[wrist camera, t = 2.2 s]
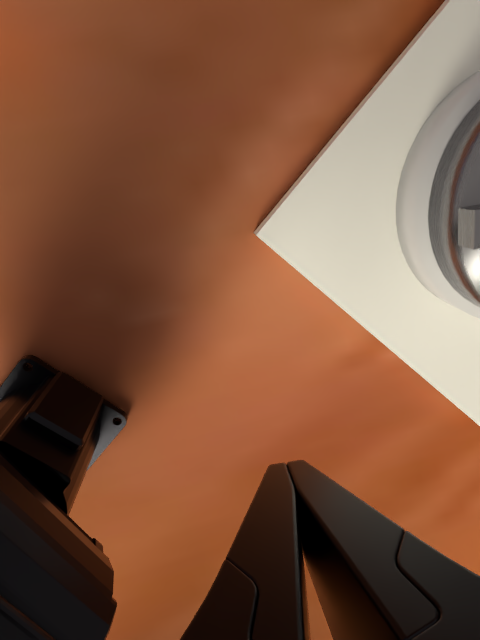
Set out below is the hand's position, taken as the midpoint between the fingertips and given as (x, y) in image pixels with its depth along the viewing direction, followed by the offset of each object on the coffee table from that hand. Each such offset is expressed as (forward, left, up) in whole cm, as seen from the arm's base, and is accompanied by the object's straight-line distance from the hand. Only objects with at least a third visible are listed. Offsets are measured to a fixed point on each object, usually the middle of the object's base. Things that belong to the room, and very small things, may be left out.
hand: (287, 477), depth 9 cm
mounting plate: (+12, -7, -13) cm, 19 cm away
